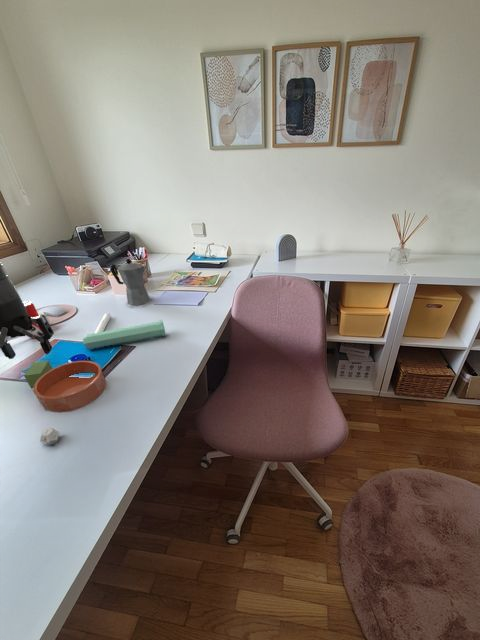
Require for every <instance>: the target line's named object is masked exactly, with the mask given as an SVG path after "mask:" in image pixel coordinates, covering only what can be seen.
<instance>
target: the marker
mask: <svg viewBox="0 0 480 640" xmlns="http://www.w3.org/2000/svg"><path fill="white" fill-rule="evenodd" d="M110 319H111V313H110V312H106V313H105V314H104V315H103V317H102V319H101V321H100V322H99V324H98V326H97V328H96V330H95V332H94V333H98V332H104V331H105V329H106V327H107V325H108V323H109V321H110Z"/></svg>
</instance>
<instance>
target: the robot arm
mask: <svg viewBox="0 0 480 640" xmlns="http://www.w3.org/2000/svg"><path fill="white" fill-rule="evenodd" d="M23 302H24V301H23V299H22V298H21V296H20V294H19V292H18V290H17V288H16V287H15V284H14V283H13V281H12V280H11V279H10V277H9V275H8V273H7V271H6V269H5V268H4V266H3V264H2V262H1V261H0V350H1V352H2V354H3V355H4V356H5V358H8V359H9V360H12V359H14V358H15V357H16V355H17V354H16V352H15V350H14V349H13V347H12V345H11V344H10V342H8V341H9V338H10V339H12V338H16V337H26V336H27V337H28V338H30V339H32V338H34V339H33V340H36V341H38V342H39V345H40V347H41V348H42V351H43V353H44V354H45V355H48V354H50V353H51V351H52V349H53V346H52V344H51V342H50V340H51V339H52V337H53V336H54V335H55V332H54V330H53V328H52V326H51V324H50V323H49V321H48V319H47V317H46V315H44V314H38V315H39V317H34V318H32V317H30V316H29V315H28V313H27V310H26V308H25V306H24V304H23ZM33 323H35V324H36V326H39V327H40V329H41V331H40V329H39V328H37V327H36V326H34V325H32V324H33ZM30 330H32V331H33V332H30Z"/></svg>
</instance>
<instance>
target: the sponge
mask: <svg viewBox="0 0 480 640" xmlns="http://www.w3.org/2000/svg"><path fill="white" fill-rule="evenodd" d="M53 368H54V367H52V365H51V363H50V360H42V361H33V362H32V363H31V364H30V365H29V367H28V368H27V369H26V372H25V373H24V375H23V377H24V379H25V380H26V383H27V384H28V385H29V387H30V389H34V385H35V383H36V381H37V380H38V379H39V378H40V377H41V376H42V375H43V374H45V373H46V372H48V371H50V370H51V369H53Z"/></svg>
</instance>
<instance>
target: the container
mask: <svg viewBox="0 0 480 640" xmlns="http://www.w3.org/2000/svg"><path fill="white" fill-rule="evenodd" d="M166 334H167V333H166V330H165V325H164V321H163V319H159V321H154V322H149V323H144V324H143V323H142V324H138V325H133V326H127V327H121V328H115V329H111V330H104V331H103V332H98V333H95V332H93V333H88V334H86V335H84V336H83V338H82V342H83V345H84V348H85V349H86V350H92V351H93V350H97V349H103V348H105V347H104V346H107V347H106V348H108V347H110V346H109V345H112V346H111V347H113V346H117V345H123V344H128V343H129V344H130V343H133V342H134V343H135V342H138V341H145V340H149V339H154V338H159V337H163V338H166V337H167V335H166ZM99 347H101V348H99ZM94 348H96V349H94Z"/></svg>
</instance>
